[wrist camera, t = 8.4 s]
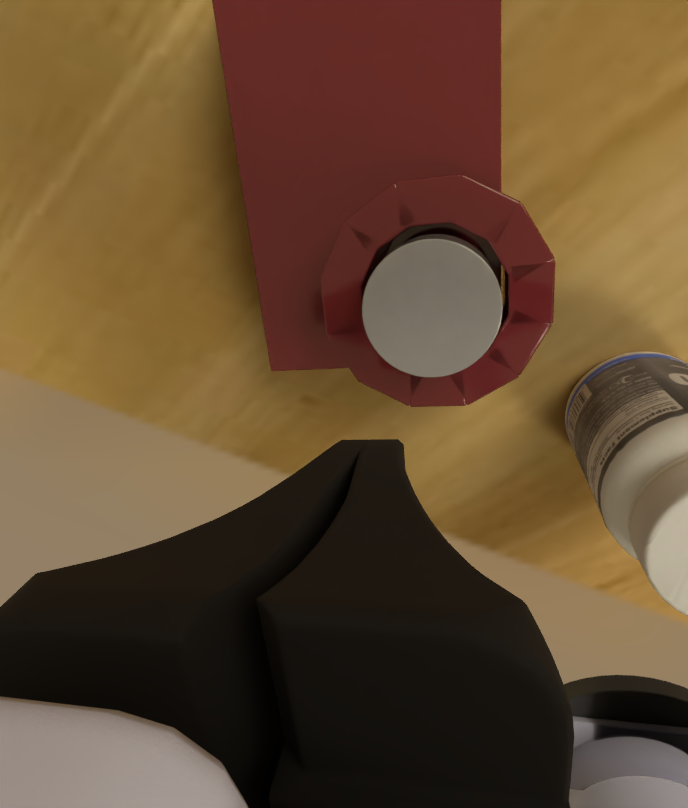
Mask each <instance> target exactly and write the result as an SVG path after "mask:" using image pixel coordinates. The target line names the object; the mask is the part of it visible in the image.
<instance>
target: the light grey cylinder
mask: <svg viewBox="0 0 688 808" xmlns="http://www.w3.org/2000/svg"><path fill="white" fill-rule="evenodd" d="M502 312H503V301H502V294H501V289H500V286H499V283H498V280H497V278H496V276H495V273H494V271H493V269H492V267H491V265H490V263H489V262H488V260H487V259H486V258H485V256H484V255H483V254H482V253H481V252H480V251H479V250H478V249H477V248H476V247H474V246H473V245H472V244H470V243H468V242H467V241H465V240H463V239H460V238H458V237H455V236H451V235H446V234H428V235H422V236H419V237H416V238H413V239H411V240H408V241H406V242H405V243H403V244H402V245H400V246H399V247H397V248H396V249H395V250H394V251H392V252H391V253H390V254H389V255H388V256H386V257H385V258H384V259H383V260H382V261H381V262H380V263H379V264H378V266H377V267H376V268H375V270H374V271H373V272H372V274H371V276H370V278H369V280H368V282H367V285H366V287H365V291H364V295H363V300H362V318H363V325H364V328H365V331H366V334H367V336H368V339H369V341H370V343H371V344H372V346H373V347H374V349H375V350H376V351H377V353H378V354H379V355H380V356H381V357H382V358H383V359H384V360H385V361H386V362H388V363H389V364H390V365H392V366H393V367H395V368H397V369H398V370H400V371H403V372H405V373H407V374H411V375H414V376H420V377H443V376H447V375H451V374H454V373H457V372H460V371H462V370H464V369H466V368H468V367H469V366H471V365H472V364H474V363H475V362H476V361H477V360H478V359H480V358H481V357H482V356H483V355H484V354H485V352H486V351H487V350H488V349H489V347H490V346H491V344H492V343H493V341H494V339H495V337H496V335H497V333H498V330H499V328H500V324H501V320H502Z"/></svg>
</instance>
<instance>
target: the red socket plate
mask: <svg viewBox="0 0 688 808" xmlns="http://www.w3.org/2000/svg"><path fill="white" fill-rule="evenodd" d="M212 2H213V9H214V15H215V21H216V27H217V34H218V40H219V46H220V53H221V59H222V65H223V71H224V78H225V84H226V90H227V97H228V103H229V109H230V115H231V122H232V128H233V134H234V141H235V147H236V153H237V159H238V166H239V172H240V178H241V185H242V191H243V197H244V203H245V210H246V216H247V222H248V229H249V235H250V241H251V247H252V254H253V260H254V266H255V273H256V279H257V285H258V291H259V298H260V304H261V310H262V317H263V323H264V329H265V335H266V342H267V348H268V354H269V361H270V367H271V371H286V370H310V369H334V368H349V369H350V370H351V372H352V373H353V374H354V376H355V377H356V379H357V380H358V381H359V382H361V383H363V384H365V385H367V386H369V387H371V388H373V389H375V390H377V391H379V392H381V393H383V394H385V395H387V396H389V397H391V398H393V399H395V400H397V401H399V402H401V403H403V404H405V405H408V406H409V405H410V406H411V407H426V406H465V405H466V404H467V405H469V404H471V403H473V402H475V401H476V400H478V399H480V398H482V397H484V396H485V395H487V394H489V393H491V392H493V391H494V390H496V389H498V388H500V387H502V386H503V385H505V384H507V383H509V382H511V381H512V380H514V379H516V378H518V375H520V374H521V373H522V372H523V370H524V368H525V367H526V365H527V364H528V362H529V360H530V359H531V357H532V356H533V354H534V353H535V351H536V349H537V348H538V346H539V345H540V343H541V342H542V340H543V338H544V337H545V335H546V334H547V332H548V331H549V329H550V327H551V323H553V312H554V283H555V260H554V256H553V254H552V253H551V251H550V249H549V248H548V246H547V244H546V243H545V241H544V239H543V238H542V236H541V234H540V233H539V231H538V229H537V227H536V226H535V224H534V222H533V221H532V219H531V217H530V216H529V214H528V212H527V211H526V209H525V207H524V206H523V204H521V203H520V201H518V200H515V199H513V198H511V197H509V196H507V195H505V194H503V193H501V0H212ZM428 234H446V235H451V236H455V237H458V238H460V239H463V240H465V241H467V242H468V243H470V244H472V245H473V246H474V247H476V248H477V249H478V250H479V251H480V252H481V253H482V254H483V255H484V256H485V258H486V259H487V260H488V262H489V263H490V265H491V267H492V269H493V271H494V273H495V276H496V278H497V280H498V283H499V286H500V289H501V264H502V266H503V312H502V320H501V324H500V328H499V330H498V333H497V335H496V337H495V339H494V341H493V343H492V344H491V346H490V347H489V349H488V350H487V351H486V352H485V354H484V355H483V356H482V357H481V358H480V359H478V360H477V361H476V362H475V363H474V364H472V365H471V366H469V367H468V368H466V369H464V370H462V371H460V372H457V373H454V374H451V375H447V376H443V377H420V376H414V375H411V374H407V373H405V372H403V371H400V370H398V369H397V368H395V367H393V366H392V365H390V364H389V363H388V362H386V361H385V360H384V359H383V358H382V357H381V356H380V355H379V354H378V353H377V351H376V350H375V349H374V347H373V346H372V344H371V343H370V341H369V339H368V336H367V334H366V331H365V328H364V325H363V318H362V300H363V295H364V291H365V287H366V285H367V282H368V280H369V278H370V276H371V274H372V272H373V271H374V270H375V268H376V267H377V266H378V264H379V263H380V262H381V261H382V260H383V259H384V258H385V257H386V256H388V255H389V254H390V253H391V252H392V251H394V250H395V249H396V248H397V247H399V246H400V245H402V244H403V243H405V242H406V241H408V240H411V239H413V238H416V237H419V236H422V235H428Z"/></svg>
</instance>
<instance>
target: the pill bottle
mask: <svg viewBox="0 0 688 808" xmlns="http://www.w3.org/2000/svg"><path fill="white" fill-rule="evenodd" d="M565 425H566V431H567V434H568V437H569V440H570V443H571V445H572V448H573V450H574V452H575V455H576V457H577V459H578V461H579V463H580V465H581V468H582V470H583V472H584V474H585V477H586V479H587V481H588V484H589V486H590V488H591V491H592V493H593V496H594V498H595V500H596V503H597V505H598V508H599V510H600V512H601V514H602V517H603V520H604V523H605V525H606V527H607V528H608V530H609V531H610V533H611V534H612V535H613V537H614V538H615V539H616V541H617V542H618V543H619V544H620V545H621V546H622V547H623V548H624V549H625V550H626V551H627V552H628V553H629V554H630V555H632V556H633V557H634V558H636V559H637V560H639V562H640V563H641V565H642V567H643V569H644V571H645V573H646V575H647V577H648V579H649V581H650V583H651V584H652V586H653V587H654V589H655V590H656V591H657V592H658V594H659V595H660V596H661V597H662V598H663V599H664V600H665V601H666V602H667V603H669V604H670V605H671V606H673V607H674V608H675V609H677V610H678V611H680V612H681V613H683V614H685V615H688V364H687V363H685V362H683V361H682V360H680V359H678V358H676V357H673V356H671V355H668V354H664V353H659V352H647V351H644V352H630V353H625V354H621V355H617V356H615V357H613V358H610V359H608V360H606V361H604V362H602V363H600V364H598V365H597V366H596V367H594V368H593V369H591V370H590V371H589V372H588V373H587V374H585V375H584V376H583V377H582V378H581V379H580V381H579V382H578V383H577V384H576V386H575V387H574V389H573V391H572V392H571V394H570V397H569V399H568V402H567V406H566V412H565Z"/></svg>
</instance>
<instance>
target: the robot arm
mask: <svg viewBox="0 0 688 808" xmlns="http://www.w3.org/2000/svg"><path fill="white" fill-rule="evenodd" d="M0 808H688V728H686V727H676V726H666V725H656V724H646V723H636V722H627V721H617V720H607V719H597V718H587V717H577V716H572V712H571V708H570V704H569V700H568V697H567V694H566V691H565V688H564V685H563V682H562V680H561V677H560V674H559V671H558V669H557V667H556V664H555V661H554V659H553V657H552V654H551V652H550V650H549V648H548V646H547V644H546V642H545V639H544V637H543V635H542V633H541V631H540V629H539V627H538V625H537V624H536V622H535V620H534V618H533V616H532V614H531V612H530V610H529V609H528V607H527V605H526V604H525V603H524V602H523V601H522V600H521V599H519V598H518V597H516V596H515V595H513V594H512V593H510V592H509V591H507V590H505V589H504V588H502V587H501V586H499V585H498V584H496V583H494V582H493V581H492V580H490V579H488V578H487V577H485V576H484V575H483V574H481V573H480V572H479V571H478V570H476V569H475V568H474V567H473V566H471V565H470V564H469V563H468V562H467V561H466V560H465V559H464V558H463V557H462V556H461V555H460V554H459V553H458V552H457V551H456V550H455V549H454V548H453V547H452V546H451V545H450V544H449V543H448V542H447V540H446V539H445V538H444V537H443V536H442V534H441V533H440V532H439V531H438V529H437V528H436V527H435V525H434V524H433V523H432V521H431V520H430V518H429V517H428V515H427V514H426V512H425V511H424V509H423V507H422V506H421V504H420V502H419V500H418V498H417V496H416V495H415V493H414V490H413V488H412V486H411V484H410V481H409V479H408V476H407V474H406V471H405V458H404V445H403V444H402V443H401V442H400V441H399V440H398V439H397V440H341V441H339V442H338V443H336V444H335V445H333V446H332V447H330V448H329V449H327V450H326V451H325V452H323V453H322V454H321V455H319V456H318V457H317V458H315V459H314V460H312V461H311V462H310V463H308V464H307V465H306V466H304V467H303V468H301V469H300V470H299V471H297V472H296V473H295V474H293V475H292V476H290V477H289V478H287V479H285V480H284V481H282V482H281V483H279V484H278V485H276V486H275V487H273V488H272V489H270V490H268V491H267V492H265V493H264V494H262V495H261V496H259V497H257V498H256V499H254V500H252V501H250V502H249V503H247V504H245V505H243V506H241V507H239V508H237V509H235V510H233V511H232V512H229V513H227V514H225V515H223V516H221V517H219V518H217V519H215V520H213V521H210V522H208V523H205V524H203V525H200V526H198V527H195V528H193V529H191V530H188V531H186V532H183V533H181V534H178V535H176V536H173V537H171V538H168V539H165V540H162V541H159V542H157V543H153V544H150V545H147V546H145V547H141V548H138V549H134V550H131V551H128V552H124V553H121V554H118V555H114V556H110V557H107V558H103V559H99V560H94V561H90V562H85V563H81V564H77V565H72V566H69V567H64V568H59V569H55V570H51V571H46V572H40V573H37V574H35V575H34V576H33V577H32V578H31V579H30V580H29V581H28V582H26V583H25V584H24V585H23V586H22V587H21V588H20V589H19V590H18V591H17V592H16V593H15V594H14V595H13V596H12V597H11V598H9V599H8V600H7V601H6V602H5V603H4V604H3V605H2V606H1V607H0Z"/></svg>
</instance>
